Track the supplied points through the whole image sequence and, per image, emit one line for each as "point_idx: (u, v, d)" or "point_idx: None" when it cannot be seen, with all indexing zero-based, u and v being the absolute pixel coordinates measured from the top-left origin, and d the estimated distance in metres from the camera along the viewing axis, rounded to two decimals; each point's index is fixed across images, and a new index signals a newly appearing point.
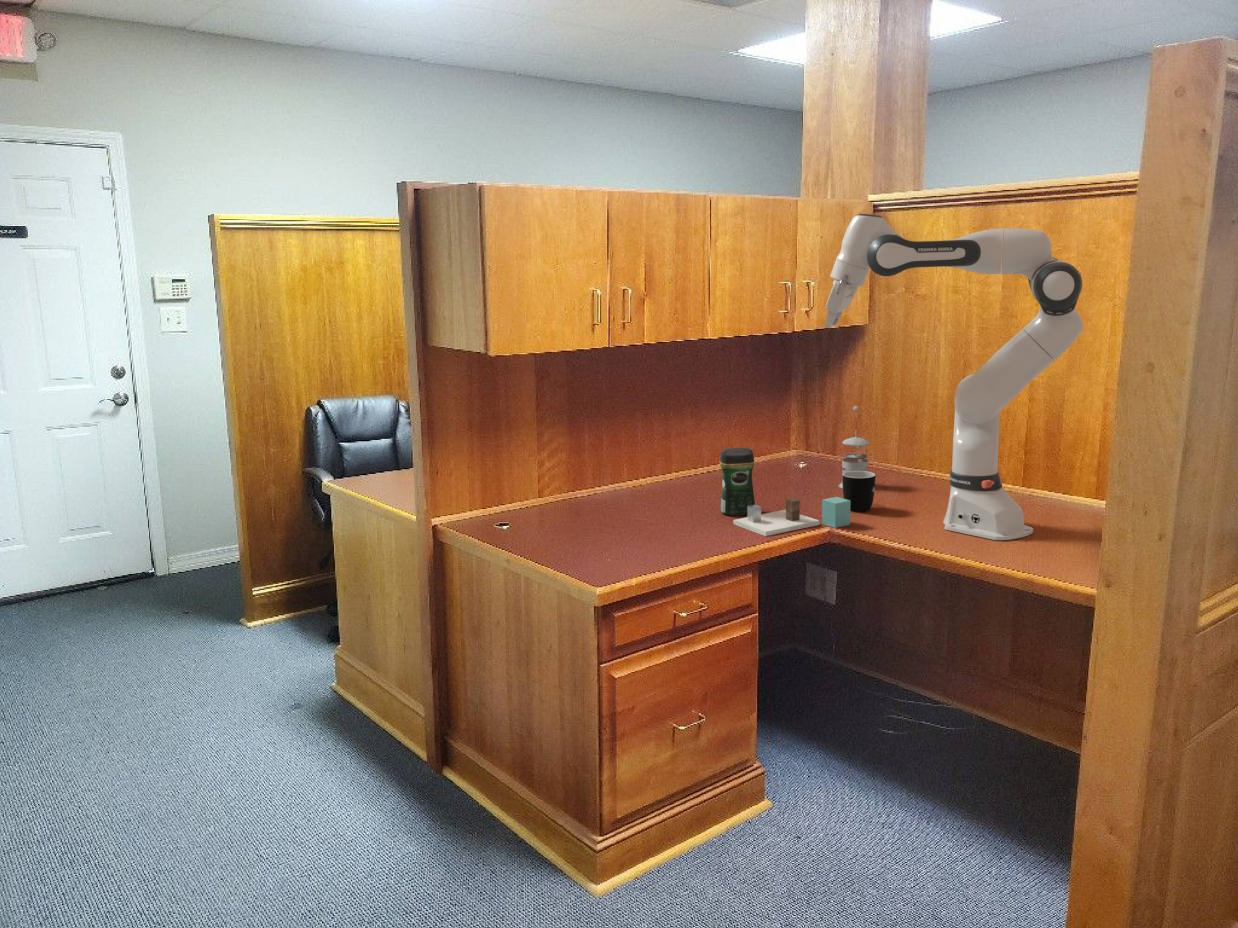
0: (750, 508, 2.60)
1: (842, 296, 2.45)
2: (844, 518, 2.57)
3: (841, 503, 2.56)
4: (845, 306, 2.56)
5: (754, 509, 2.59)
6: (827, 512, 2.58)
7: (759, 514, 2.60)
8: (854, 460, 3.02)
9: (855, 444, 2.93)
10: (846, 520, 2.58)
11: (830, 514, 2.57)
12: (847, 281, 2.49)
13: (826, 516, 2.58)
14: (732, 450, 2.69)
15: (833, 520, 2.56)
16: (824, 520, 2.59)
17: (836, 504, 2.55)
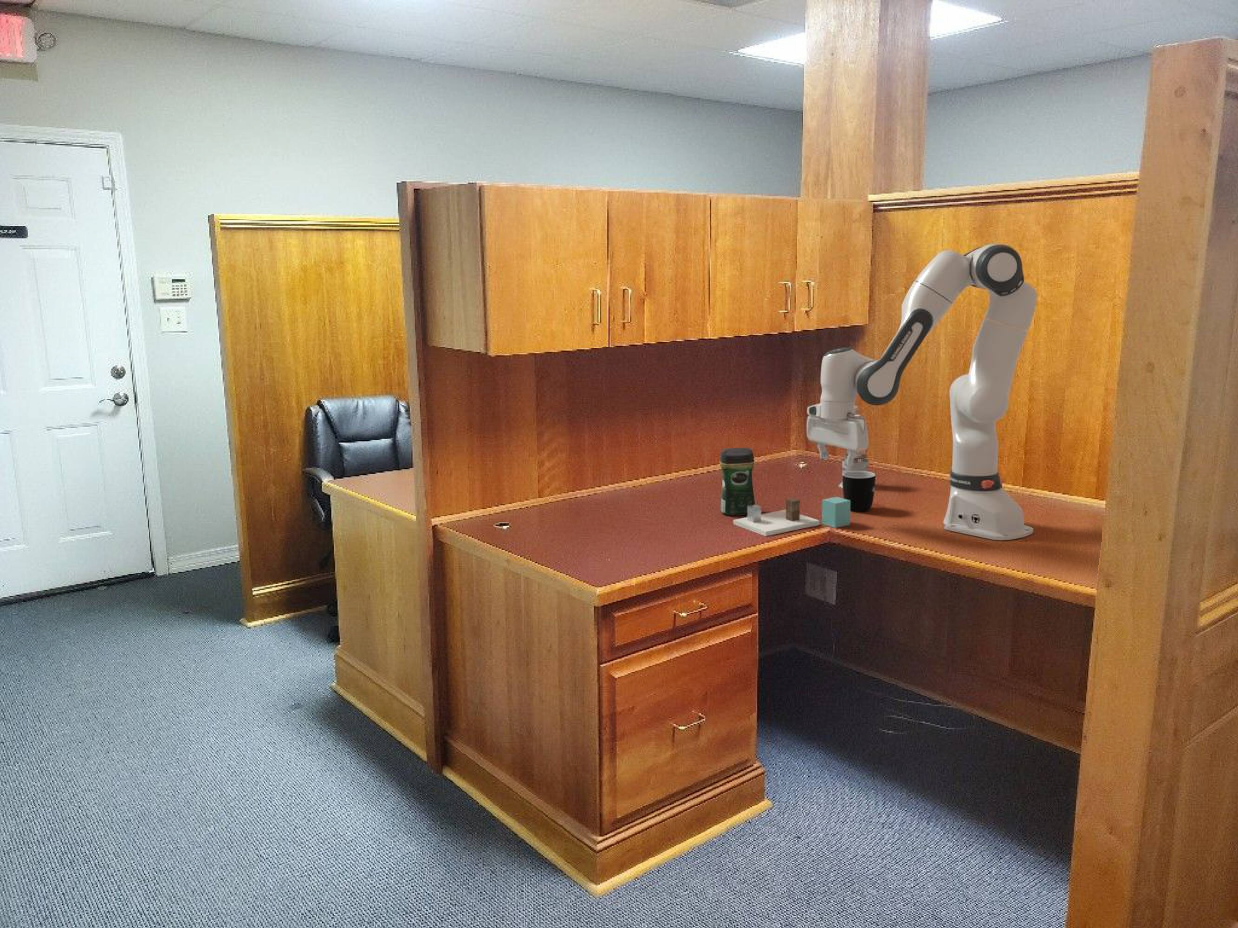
0: (750, 508, 2.60)
1: (867, 433, 2.47)
2: (844, 518, 2.57)
3: (841, 503, 2.56)
4: None
5: (754, 509, 2.59)
6: (827, 512, 2.58)
7: (759, 514, 2.60)
8: (854, 460, 3.02)
9: None
10: (846, 520, 2.58)
11: (830, 514, 2.57)
12: None
13: (826, 516, 2.58)
14: (732, 450, 2.69)
15: (833, 520, 2.56)
16: (824, 520, 2.59)
17: (836, 504, 2.55)
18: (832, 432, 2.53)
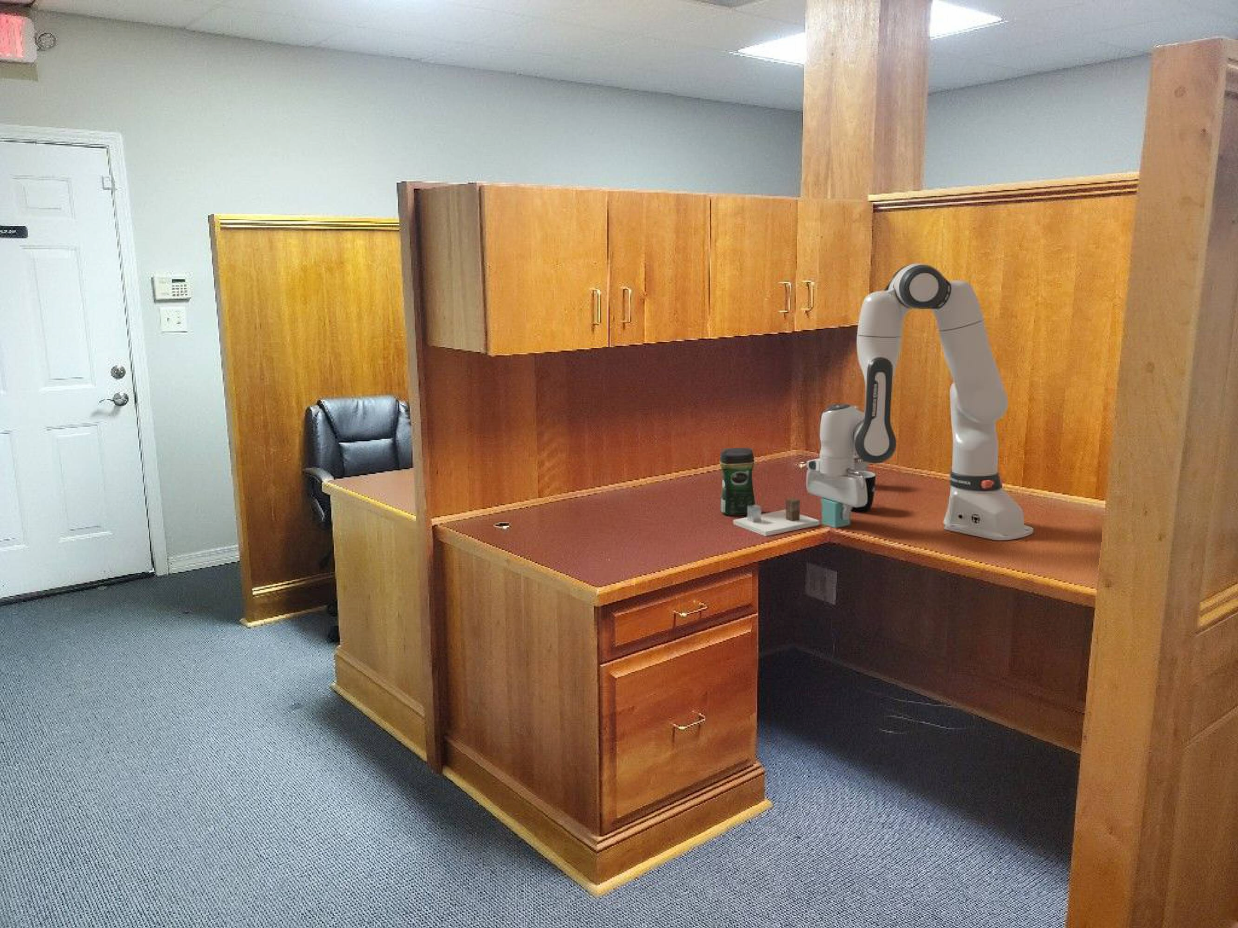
0: (750, 508, 2.60)
1: (866, 489, 2.50)
2: None
3: (841, 503, 2.56)
4: None
5: (754, 509, 2.59)
6: (827, 512, 2.58)
7: (759, 514, 2.60)
8: (854, 460, 3.02)
9: None
10: (846, 520, 2.58)
11: (830, 514, 2.57)
12: None
13: (826, 516, 2.58)
14: (732, 450, 2.69)
15: (833, 520, 2.56)
16: (824, 520, 2.59)
17: (836, 504, 2.55)
18: (831, 486, 2.56)
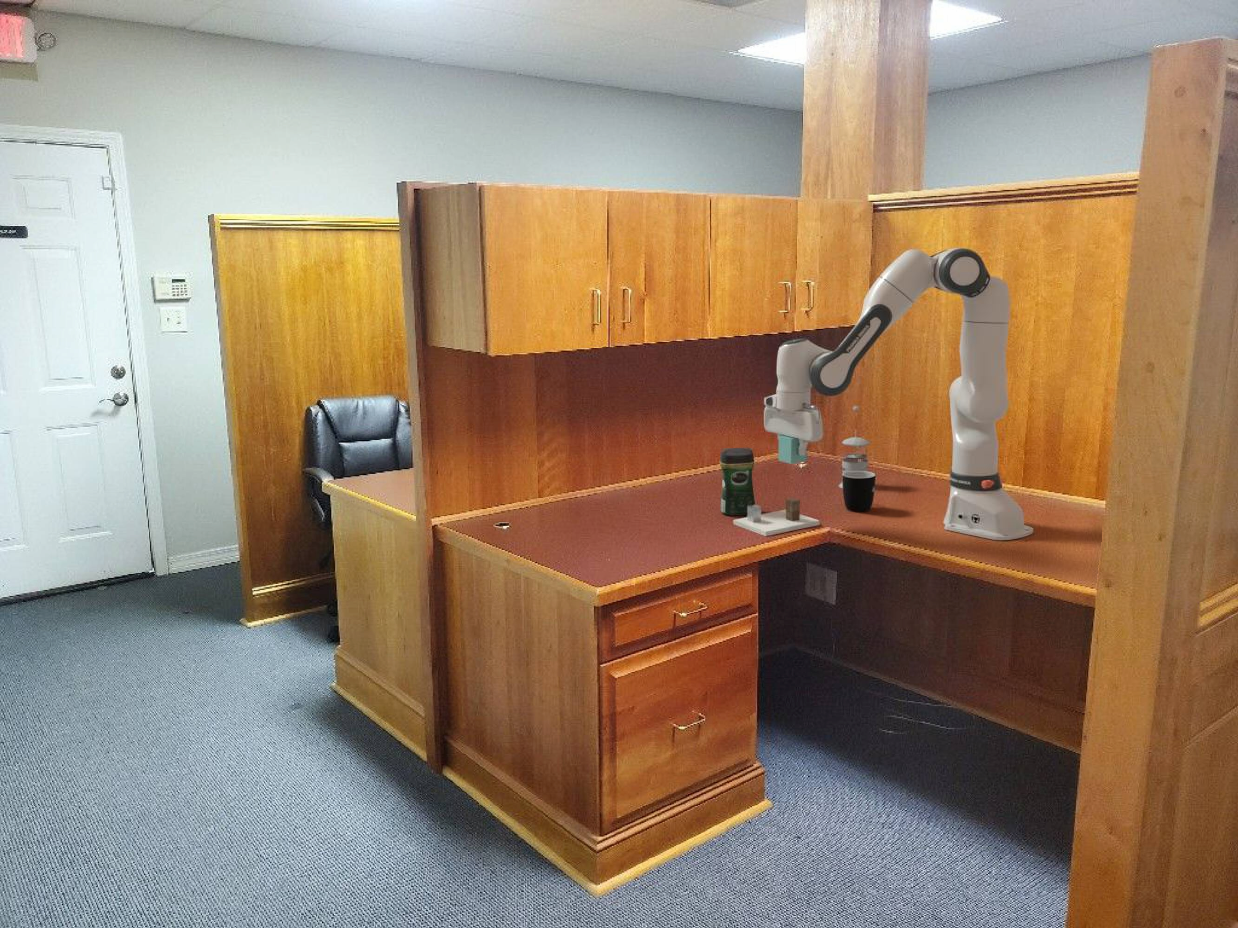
0: (750, 508, 2.60)
1: (821, 423, 2.48)
2: None
3: (797, 439, 2.54)
4: None
5: (754, 509, 2.59)
6: (784, 448, 2.56)
7: (759, 514, 2.60)
8: (854, 460, 3.02)
9: (855, 444, 2.93)
10: (803, 457, 2.56)
11: (786, 450, 2.55)
12: None
13: (782, 452, 2.57)
14: (732, 450, 2.69)
15: (789, 456, 2.54)
16: (780, 457, 2.58)
17: (792, 440, 2.53)
18: (788, 422, 2.54)
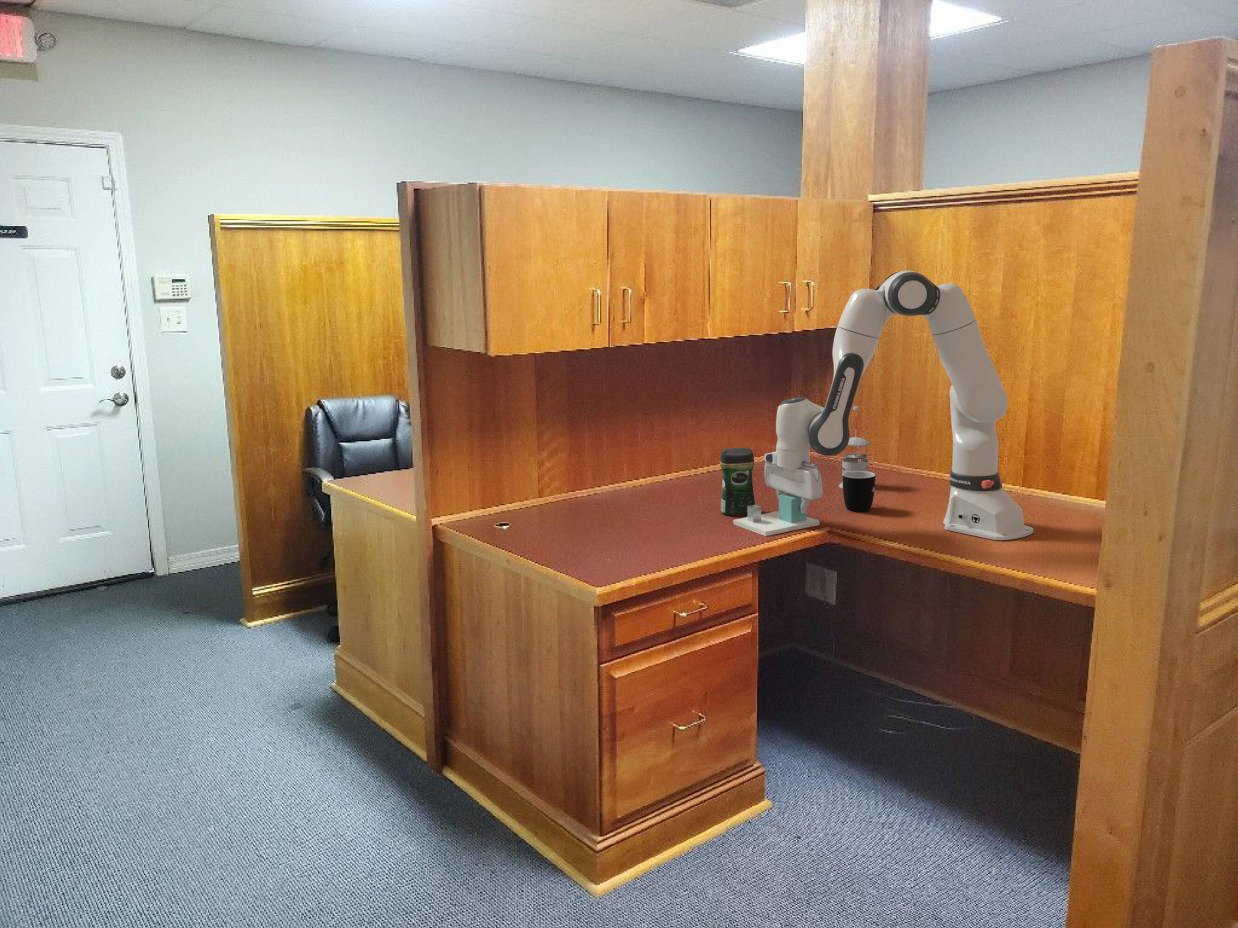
0: (750, 508, 2.60)
1: (821, 481, 2.51)
2: (800, 513, 2.59)
3: (797, 498, 2.57)
4: None
5: (754, 509, 2.59)
6: (784, 508, 2.59)
7: (759, 514, 2.60)
8: (854, 460, 3.02)
9: (855, 444, 2.93)
10: (803, 516, 2.59)
11: (786, 509, 2.58)
12: None
13: (783, 511, 2.60)
14: (732, 450, 2.69)
15: (789, 515, 2.58)
16: (781, 515, 2.61)
17: (792, 499, 2.56)
18: (788, 479, 2.58)
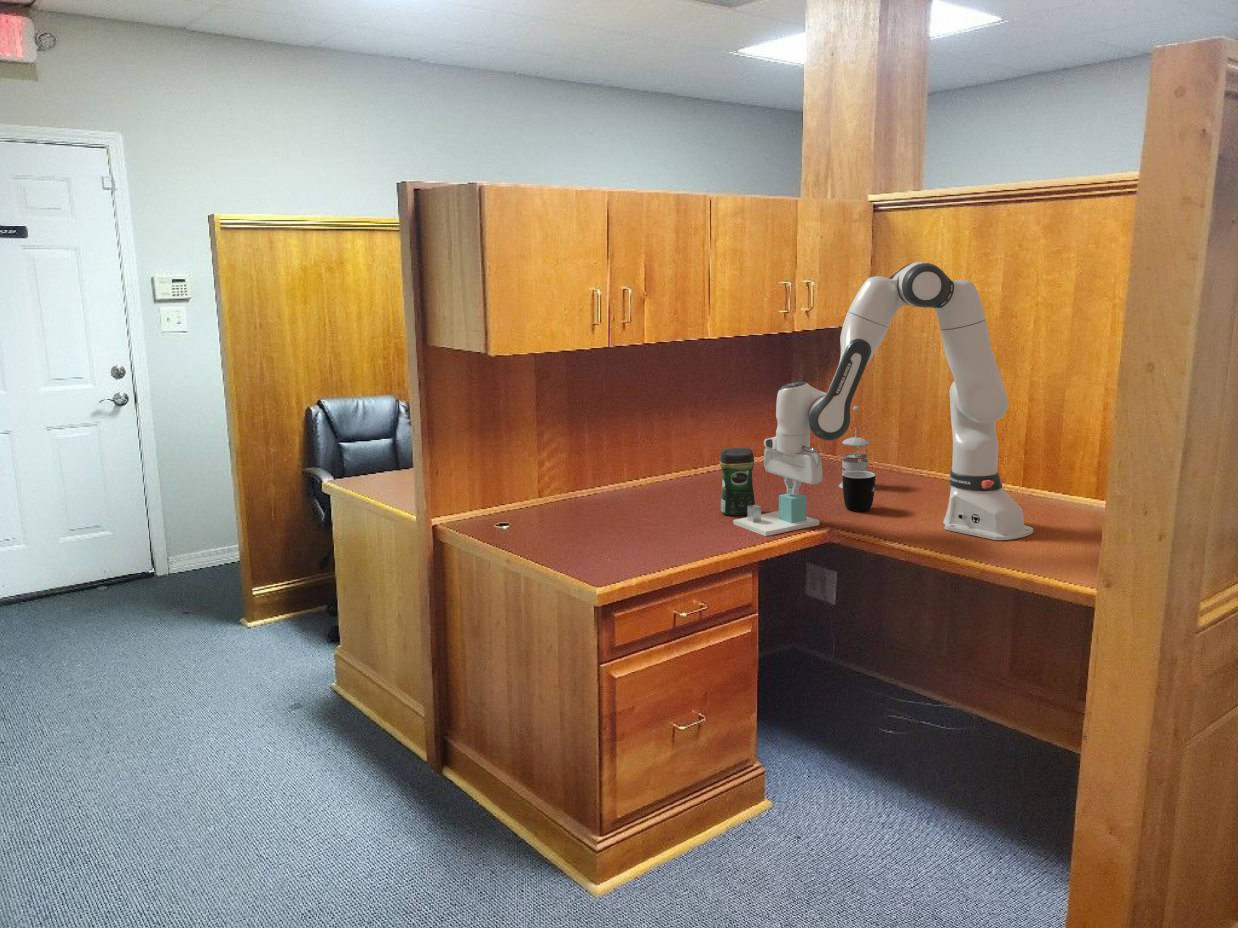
0: (750, 508, 2.60)
1: (821, 466, 2.50)
2: (800, 513, 2.59)
3: (797, 498, 2.57)
4: None
5: (754, 509, 2.59)
6: (784, 508, 2.59)
7: (759, 514, 2.60)
8: (854, 460, 3.02)
9: (855, 444, 2.93)
10: (803, 516, 2.59)
11: (786, 509, 2.58)
12: None
13: (783, 511, 2.60)
14: (732, 450, 2.69)
15: (789, 515, 2.58)
16: (781, 515, 2.61)
17: (792, 499, 2.56)
18: (788, 464, 2.57)
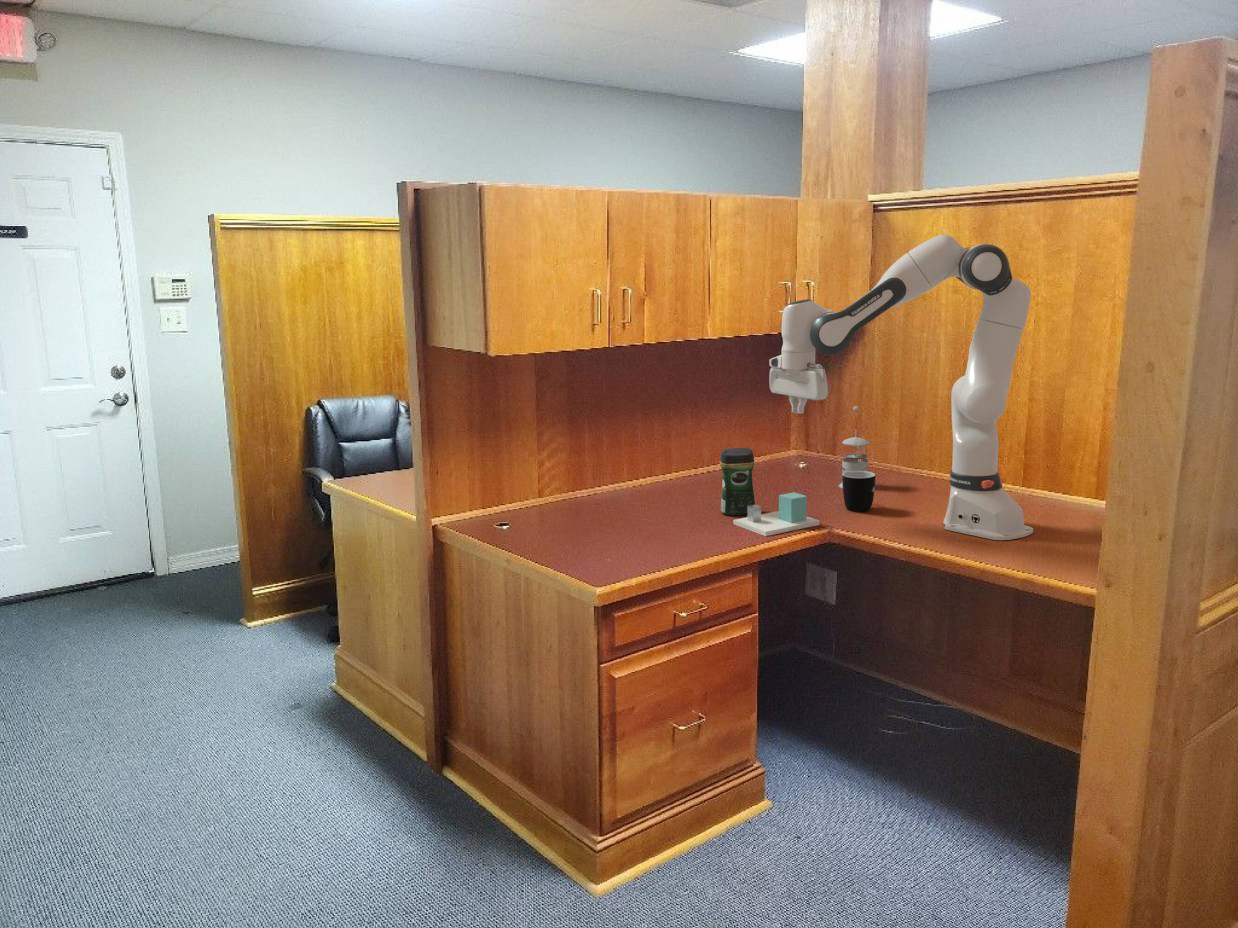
0: (750, 508, 2.60)
1: (826, 382, 2.51)
2: (800, 513, 2.59)
3: (797, 498, 2.57)
4: None
5: (754, 509, 2.59)
6: (784, 508, 2.59)
7: (759, 514, 2.60)
8: (854, 460, 3.02)
9: (855, 444, 2.93)
10: (803, 516, 2.59)
11: (786, 509, 2.58)
12: None
13: (783, 511, 2.60)
14: (732, 450, 2.69)
15: (789, 515, 2.58)
16: (781, 515, 2.61)
17: (792, 499, 2.56)
18: (793, 382, 2.58)
